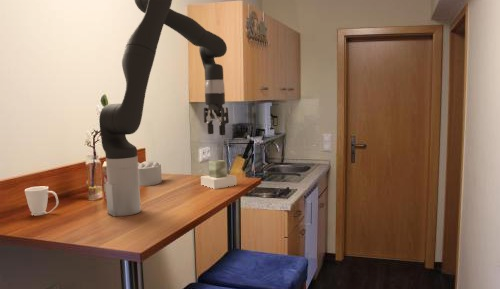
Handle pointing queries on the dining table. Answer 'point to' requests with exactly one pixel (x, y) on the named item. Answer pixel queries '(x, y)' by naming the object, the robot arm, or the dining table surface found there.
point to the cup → (39, 199)
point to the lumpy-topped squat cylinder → (149, 173)
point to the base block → (218, 181)
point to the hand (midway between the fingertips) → (216, 134)
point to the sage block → (217, 168)
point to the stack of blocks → (104, 178)
